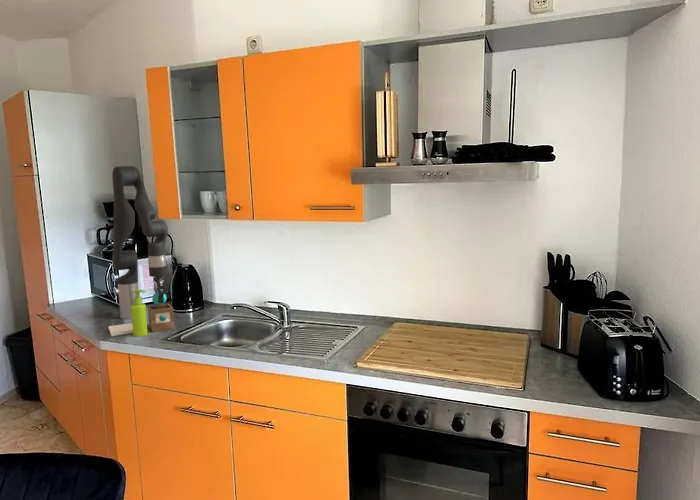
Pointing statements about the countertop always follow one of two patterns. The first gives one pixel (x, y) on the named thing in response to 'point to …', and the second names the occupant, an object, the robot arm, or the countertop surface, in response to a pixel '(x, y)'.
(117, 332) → the dish
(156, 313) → the box
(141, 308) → the soap dispenser
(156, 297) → the ball
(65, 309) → the countertop surface
